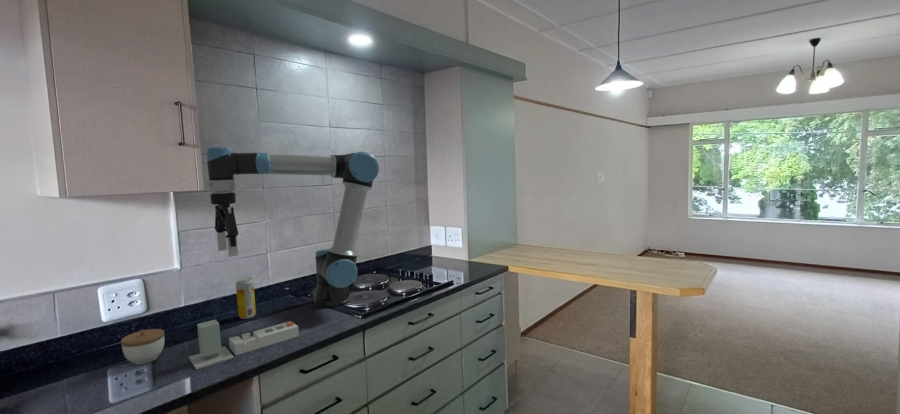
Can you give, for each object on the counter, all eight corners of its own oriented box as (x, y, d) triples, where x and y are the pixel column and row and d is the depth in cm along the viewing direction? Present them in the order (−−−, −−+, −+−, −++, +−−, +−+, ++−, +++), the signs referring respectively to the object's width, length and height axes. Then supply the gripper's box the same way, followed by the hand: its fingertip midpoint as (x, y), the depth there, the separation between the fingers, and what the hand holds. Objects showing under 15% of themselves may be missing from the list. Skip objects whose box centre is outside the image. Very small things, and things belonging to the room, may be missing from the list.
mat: (225, 348, 132) (224, 346, 132) (233, 358, 125) (233, 356, 125) (189, 358, 126) (189, 356, 126) (196, 369, 118) (195, 368, 118)
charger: (218, 351, 129) (215, 319, 128) (222, 356, 125) (219, 323, 124) (200, 356, 125) (197, 323, 124) (203, 361, 122) (200, 328, 121)
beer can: (250, 312, 164) (248, 276, 163) (259, 315, 161) (256, 278, 159) (235, 317, 160) (232, 280, 158) (243, 320, 156) (240, 282, 154)
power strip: (291, 330, 145) (290, 318, 145) (299, 336, 140) (298, 324, 140) (229, 348, 132) (228, 335, 132) (235, 355, 127) (234, 342, 126)
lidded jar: (118, 371, 119) (114, 340, 118) (129, 356, 129) (126, 327, 128) (162, 363, 123) (159, 333, 122) (170, 349, 133) (167, 321, 132)
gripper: (202, 191, 147) (207, 249, 149) (219, 194, 128) (225, 260, 131) (225, 190, 152) (229, 246, 154) (245, 192, 133) (250, 256, 136)
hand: (227, 253), depth 142 cm, fingers open, 13 cm apart
